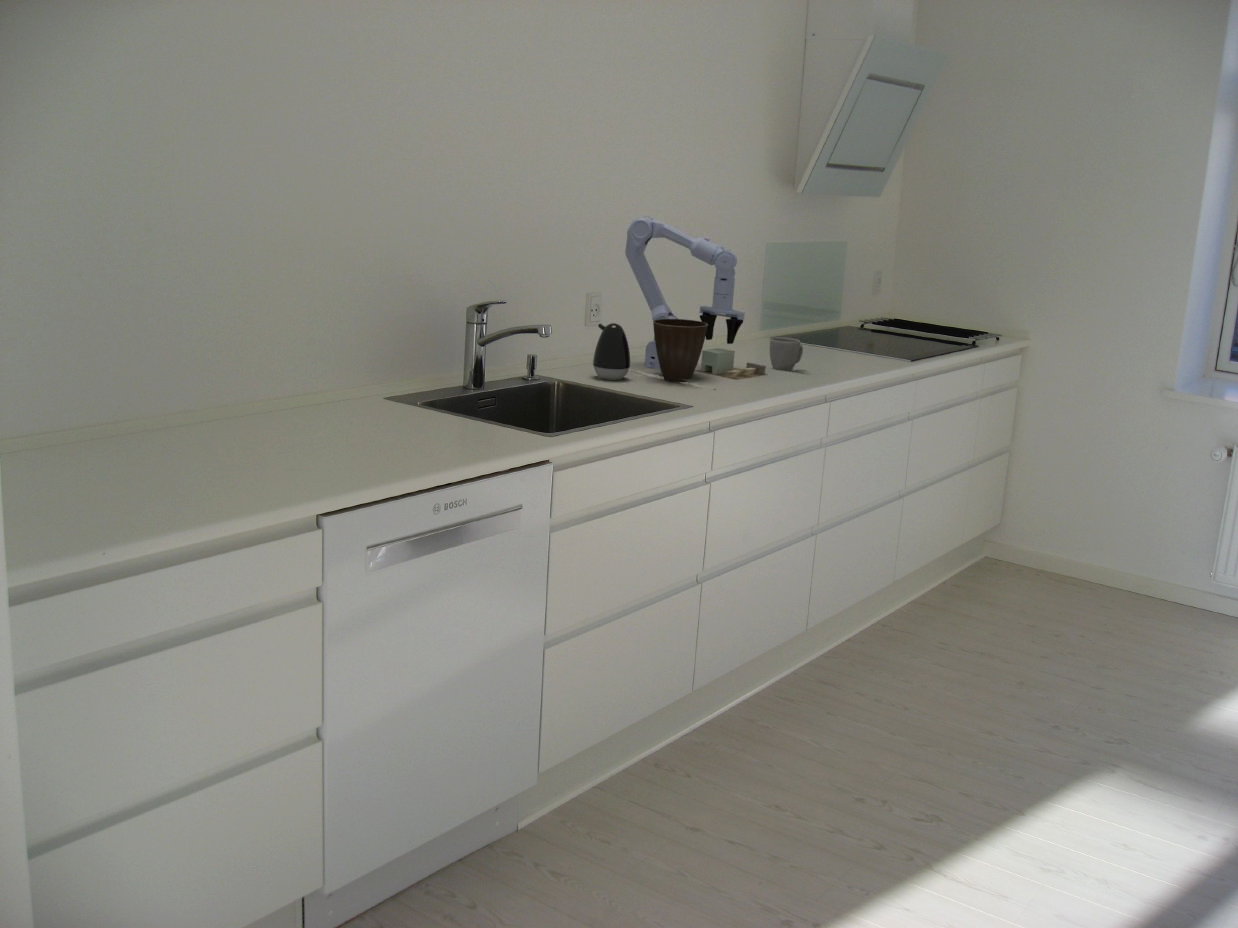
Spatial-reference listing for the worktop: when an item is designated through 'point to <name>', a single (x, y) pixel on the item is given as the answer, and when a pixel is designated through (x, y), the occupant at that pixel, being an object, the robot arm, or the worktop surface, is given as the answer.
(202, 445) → the worktop surface
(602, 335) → the pump dispenser
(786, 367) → the mug
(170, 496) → the worktop surface
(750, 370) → the cleat board
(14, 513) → the worktop surface
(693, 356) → the plant pot
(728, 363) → the cabinet block
